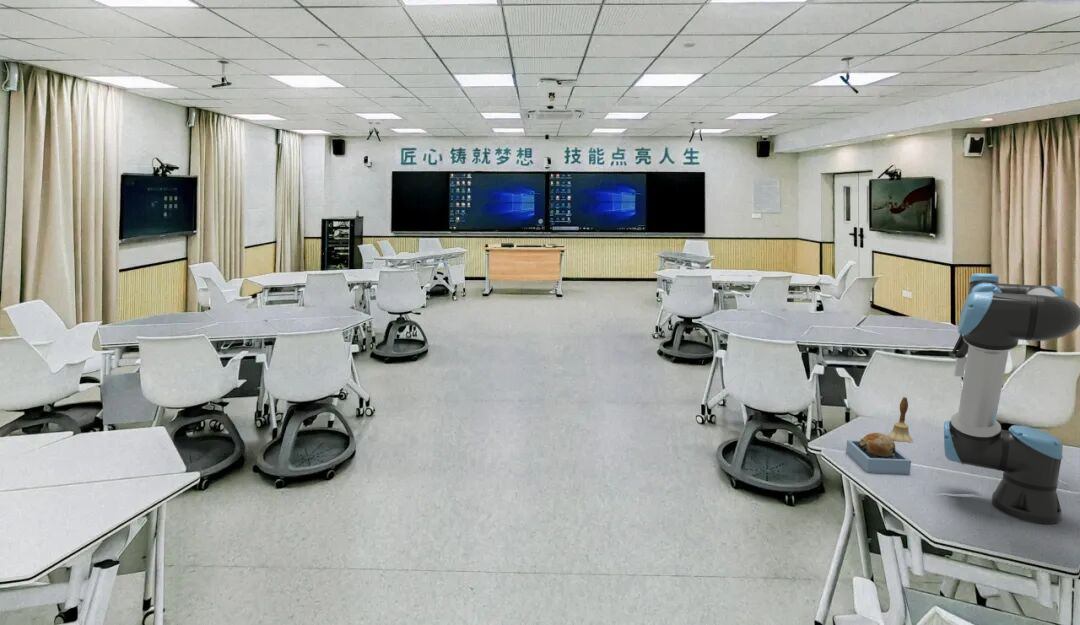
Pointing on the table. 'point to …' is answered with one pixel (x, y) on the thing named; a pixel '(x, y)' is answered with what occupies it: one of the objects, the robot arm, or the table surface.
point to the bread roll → (878, 445)
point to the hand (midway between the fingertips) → (970, 381)
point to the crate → (878, 460)
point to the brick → (878, 456)
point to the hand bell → (901, 425)
